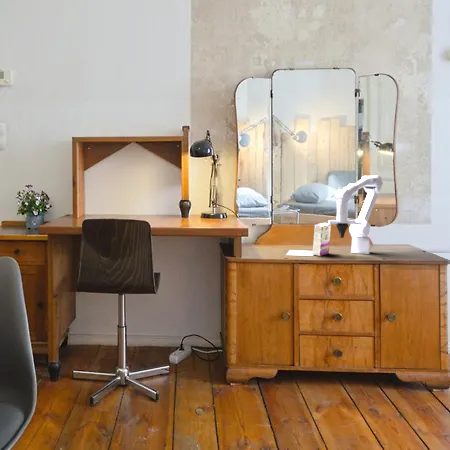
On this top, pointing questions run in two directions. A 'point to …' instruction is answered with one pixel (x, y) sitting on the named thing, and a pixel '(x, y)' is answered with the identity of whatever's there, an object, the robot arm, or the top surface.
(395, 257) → the top surface
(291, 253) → the mat
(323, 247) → the candy bar box
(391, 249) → the top surface
